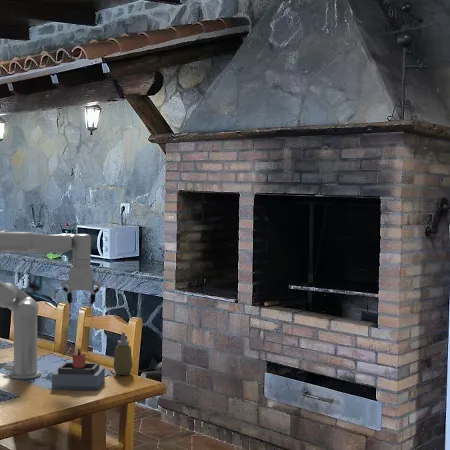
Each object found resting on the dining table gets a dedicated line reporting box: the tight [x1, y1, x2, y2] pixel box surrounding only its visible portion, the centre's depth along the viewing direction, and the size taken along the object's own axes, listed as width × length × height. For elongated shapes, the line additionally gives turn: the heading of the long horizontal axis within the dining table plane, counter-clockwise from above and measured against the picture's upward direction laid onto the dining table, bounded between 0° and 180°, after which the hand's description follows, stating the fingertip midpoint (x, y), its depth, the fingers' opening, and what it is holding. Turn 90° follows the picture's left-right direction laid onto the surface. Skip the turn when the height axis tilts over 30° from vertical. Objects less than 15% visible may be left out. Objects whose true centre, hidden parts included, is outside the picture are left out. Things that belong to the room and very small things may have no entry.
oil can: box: [72, 348, 86, 369], centre depth 284 cm, size 5×5×13 cm
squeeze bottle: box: [113, 331, 133, 376], centre depth 302 cm, size 8×8×18 cm
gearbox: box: [51, 361, 106, 392], centre depth 284 cm, size 18×13×8 cm
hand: (81, 303), depth 301 cm, fingers open, 9 cm apart
